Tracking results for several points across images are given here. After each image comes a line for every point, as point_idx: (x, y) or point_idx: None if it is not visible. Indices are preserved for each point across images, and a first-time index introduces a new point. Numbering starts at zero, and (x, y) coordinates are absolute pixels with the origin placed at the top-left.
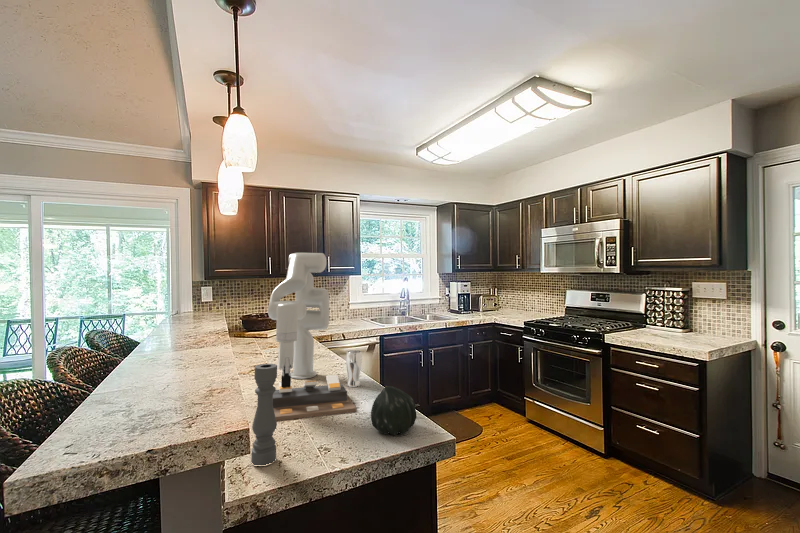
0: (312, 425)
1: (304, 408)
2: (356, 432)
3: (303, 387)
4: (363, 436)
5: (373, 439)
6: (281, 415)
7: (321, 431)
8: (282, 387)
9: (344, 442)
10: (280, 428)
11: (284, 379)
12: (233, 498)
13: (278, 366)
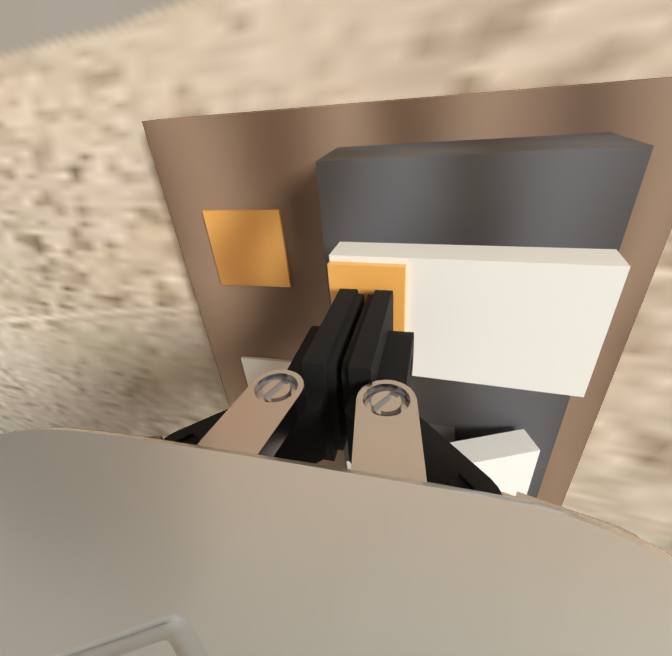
0: (130, 344)
1: (287, 351)
2: None
3: (504, 434)
4: None
5: None
6: (186, 216)
7: (81, 362)
8: (359, 291)
9: (20, 401)
10: (77, 202)
11: (292, 365)
12: None
13: (172, 465)
